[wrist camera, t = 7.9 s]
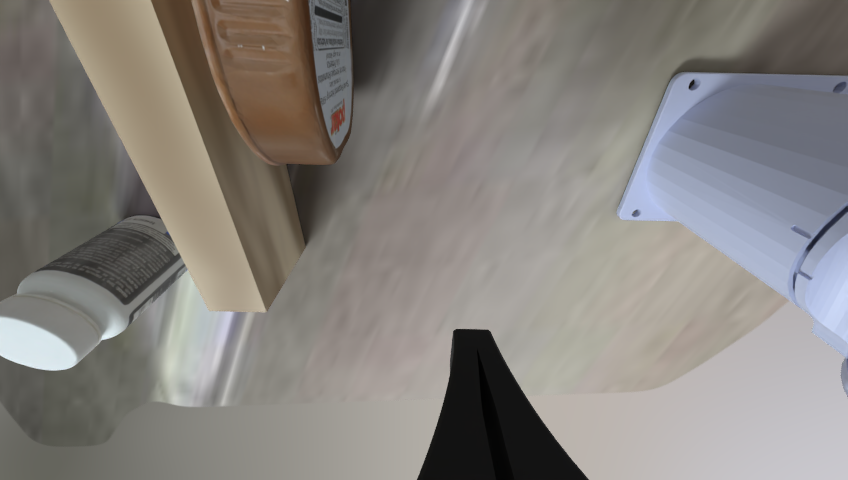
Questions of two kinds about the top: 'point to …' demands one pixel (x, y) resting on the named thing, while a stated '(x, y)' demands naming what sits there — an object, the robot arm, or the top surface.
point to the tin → (283, 74)
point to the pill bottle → (88, 294)
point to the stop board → (189, 148)
